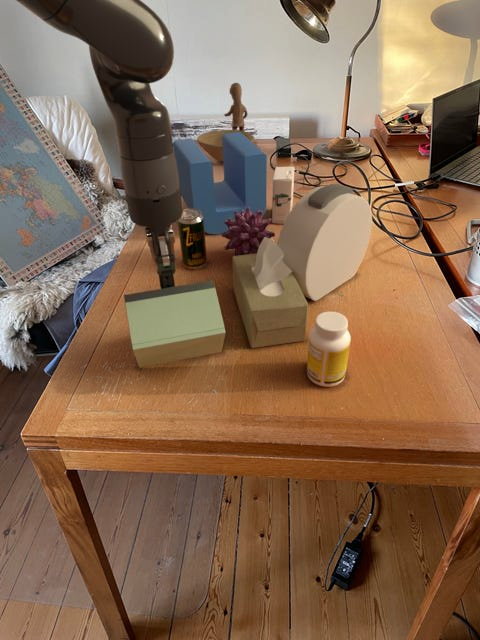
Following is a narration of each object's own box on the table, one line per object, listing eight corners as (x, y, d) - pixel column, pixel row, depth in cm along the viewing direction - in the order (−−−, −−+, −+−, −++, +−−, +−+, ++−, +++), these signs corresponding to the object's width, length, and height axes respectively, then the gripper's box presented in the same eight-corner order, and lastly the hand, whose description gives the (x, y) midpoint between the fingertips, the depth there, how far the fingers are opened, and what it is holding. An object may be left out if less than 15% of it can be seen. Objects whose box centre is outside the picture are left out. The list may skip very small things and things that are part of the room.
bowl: (252, 150, 159) (252, 126, 154) (256, 169, 145) (256, 144, 140) (199, 153, 159) (197, 129, 154) (198, 172, 145) (196, 147, 140)
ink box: (274, 209, 122) (275, 165, 115) (292, 209, 122) (294, 165, 114) (271, 223, 115) (271, 178, 108) (291, 224, 115) (293, 178, 107)
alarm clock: (336, 256, 102) (348, 168, 90) (364, 268, 98) (381, 178, 86) (272, 294, 90) (277, 198, 78) (302, 310, 86) (311, 211, 74)
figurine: (243, 139, 169) (241, 79, 157) (254, 144, 164) (253, 83, 152) (222, 144, 166) (219, 83, 153) (233, 149, 161) (231, 87, 148)
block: (243, 198, 128) (241, 131, 117) (266, 225, 115) (266, 153, 104) (180, 208, 124) (172, 140, 113) (196, 238, 111) (189, 164, 100)
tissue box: (306, 342, 80) (312, 264, 70) (251, 350, 79) (250, 272, 69) (279, 283, 94) (281, 212, 85) (233, 289, 93) (229, 218, 83)
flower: (219, 272, 101) (229, 237, 109) (273, 274, 99) (279, 238, 106) (211, 231, 93) (222, 196, 100) (270, 232, 90) (277, 196, 98)
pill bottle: (347, 365, 75) (356, 312, 68) (341, 392, 71) (350, 338, 64) (310, 357, 77) (315, 304, 70) (302, 383, 72) (306, 329, 65)
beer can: (179, 260, 103) (173, 211, 95) (202, 255, 104) (198, 206, 97) (187, 272, 99) (181, 221, 91) (210, 266, 100) (206, 216, 93)
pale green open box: (139, 368, 76) (132, 350, 67) (131, 318, 79) (123, 294, 70) (221, 352, 79) (225, 332, 69) (210, 305, 82) (213, 280, 72)
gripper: (121, 171, 67) (140, 271, 78) (127, 208, 57) (149, 318, 67) (172, 165, 68) (184, 264, 79) (187, 200, 58) (199, 308, 69)
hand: (168, 289), depth 73 cm, fingers closed
